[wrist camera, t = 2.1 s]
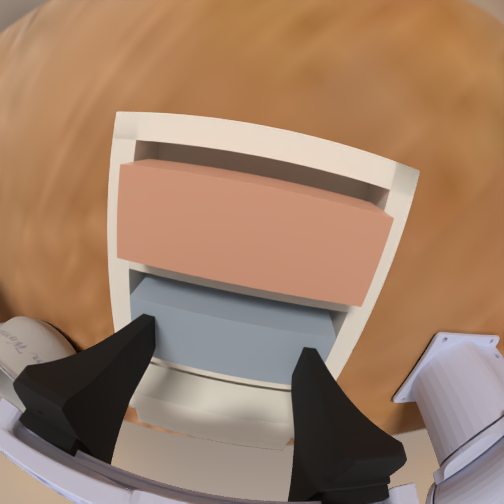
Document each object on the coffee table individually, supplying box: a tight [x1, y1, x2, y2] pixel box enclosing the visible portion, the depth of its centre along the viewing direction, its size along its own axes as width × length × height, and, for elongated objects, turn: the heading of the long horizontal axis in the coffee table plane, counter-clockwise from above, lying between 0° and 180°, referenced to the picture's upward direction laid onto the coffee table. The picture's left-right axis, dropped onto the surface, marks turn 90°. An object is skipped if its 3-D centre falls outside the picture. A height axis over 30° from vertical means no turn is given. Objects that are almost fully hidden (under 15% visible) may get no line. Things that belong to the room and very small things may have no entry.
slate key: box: [130, 273, 336, 385], centre depth 14 cm, size 10×4×2 cm, turn 79°
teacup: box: [0, 316, 76, 413], centre depth 17 cm, size 14×11×8 cm
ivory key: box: [133, 364, 294, 450], centre depth 15 cm, size 10×4×2 cm, turn 79°
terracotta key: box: [117, 159, 394, 307], centre depth 10 cm, size 10×4×2 cm, turn 79°
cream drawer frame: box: [107, 112, 420, 441], centre depth 15 cm, size 13×20×4 cm, turn 169°
